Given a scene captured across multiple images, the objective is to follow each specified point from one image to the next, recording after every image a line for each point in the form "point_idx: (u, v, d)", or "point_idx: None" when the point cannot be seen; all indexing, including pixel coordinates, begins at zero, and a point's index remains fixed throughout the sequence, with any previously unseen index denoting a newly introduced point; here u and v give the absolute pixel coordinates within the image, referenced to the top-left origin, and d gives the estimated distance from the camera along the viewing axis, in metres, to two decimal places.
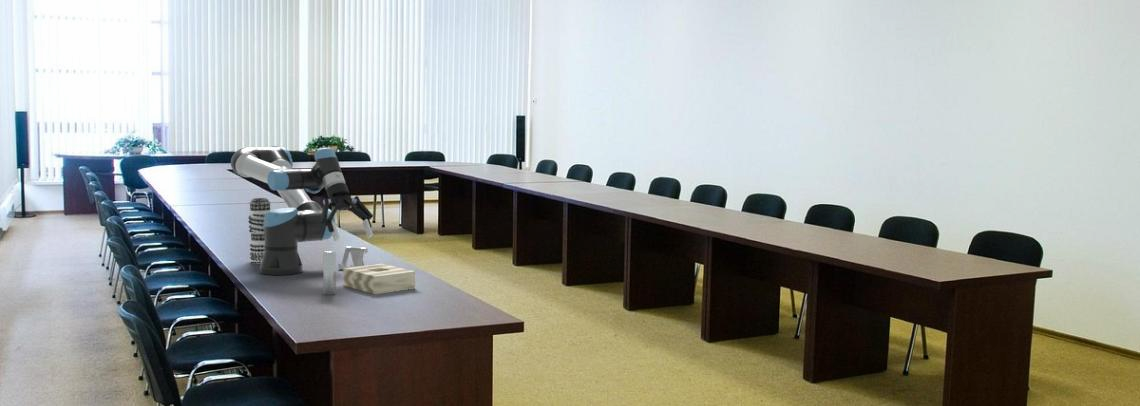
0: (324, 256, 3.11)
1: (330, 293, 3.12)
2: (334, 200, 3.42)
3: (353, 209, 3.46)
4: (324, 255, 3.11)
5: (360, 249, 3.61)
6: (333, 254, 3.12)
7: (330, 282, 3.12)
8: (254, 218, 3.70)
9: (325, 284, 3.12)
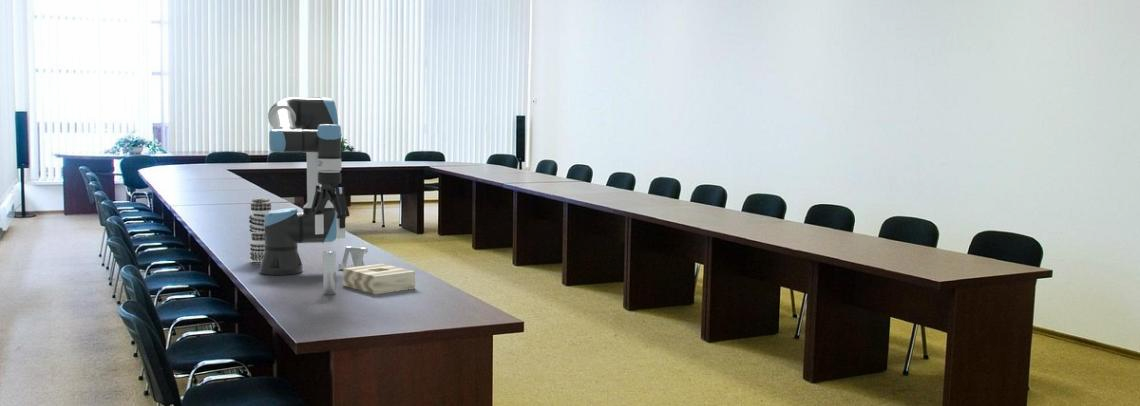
0: (324, 256, 3.11)
1: (330, 293, 3.12)
2: (321, 189, 3.13)
3: None
4: (324, 255, 3.11)
5: (360, 249, 3.61)
6: (333, 254, 3.12)
7: (330, 282, 3.12)
8: (255, 218, 3.70)
9: (325, 284, 3.12)
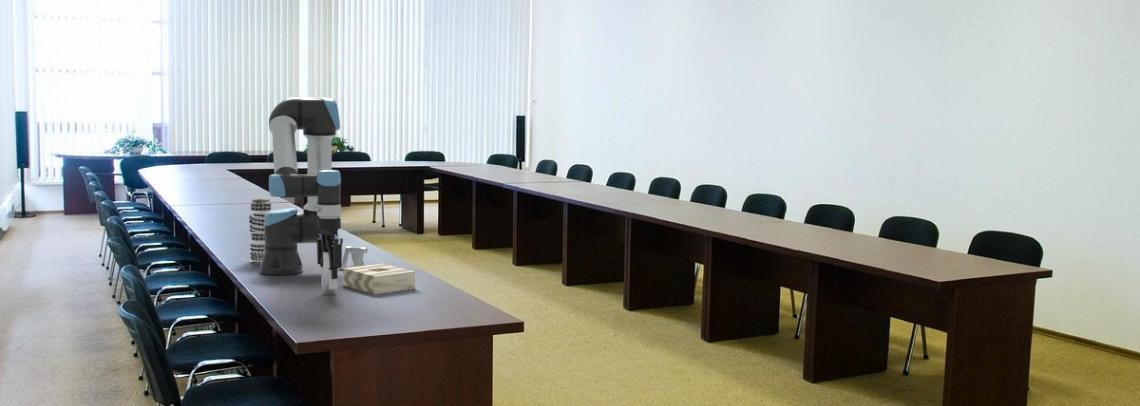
0: (324, 256, 3.11)
1: (330, 293, 3.12)
2: (321, 235, 3.14)
3: None
4: (324, 255, 3.11)
5: (360, 249, 3.61)
6: None
7: None
8: (255, 218, 3.70)
9: (325, 284, 3.12)
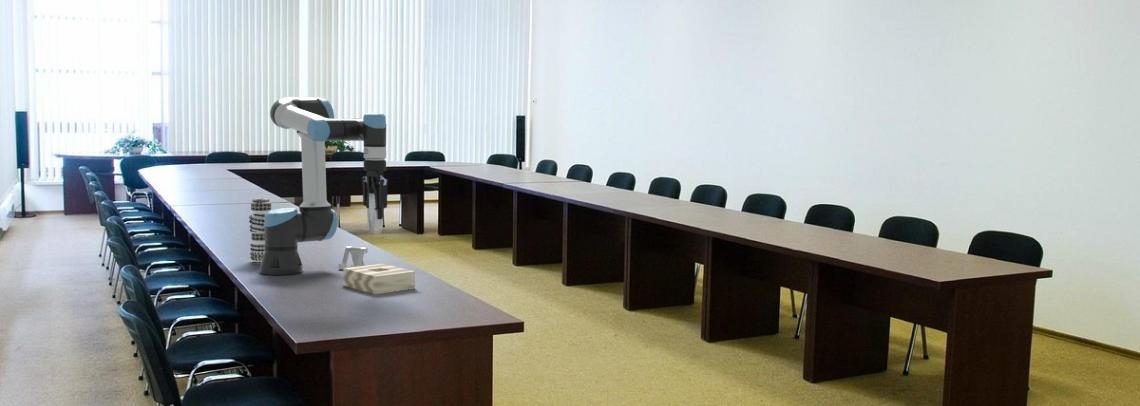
0: (370, 197, 3.22)
1: (376, 233, 3.22)
2: (367, 176, 3.24)
3: None
4: (370, 196, 3.22)
5: (360, 249, 3.61)
6: None
7: None
8: (255, 218, 3.70)
9: (371, 224, 3.22)
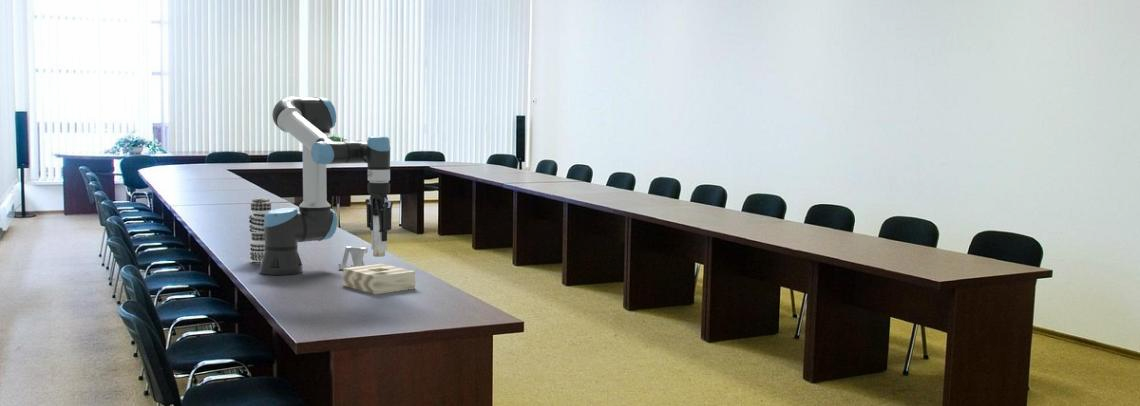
0: (374, 219, 3.23)
1: (380, 255, 3.24)
2: (371, 199, 3.26)
3: None
4: (374, 218, 3.23)
5: (360, 249, 3.61)
6: None
7: None
8: (255, 218, 3.70)
9: (375, 246, 3.24)
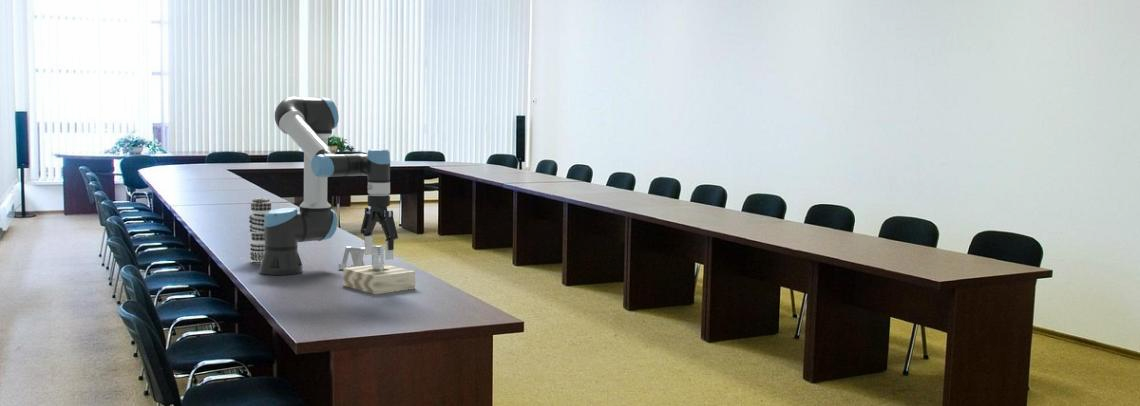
0: (373, 250, 3.25)
1: None
2: (370, 211, 3.26)
3: None
4: (373, 249, 3.25)
5: (360, 249, 3.61)
6: (381, 248, 3.26)
7: None
8: (255, 218, 3.70)
9: None
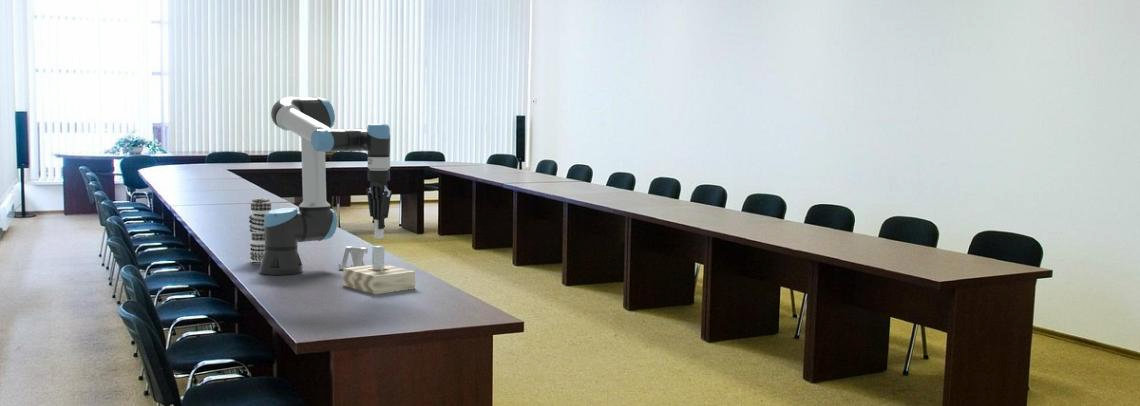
0: (374, 251, 3.25)
1: None
2: (371, 187, 3.25)
3: None
4: (374, 250, 3.25)
5: (360, 249, 3.61)
6: (382, 249, 3.25)
7: None
8: (255, 218, 3.70)
9: None
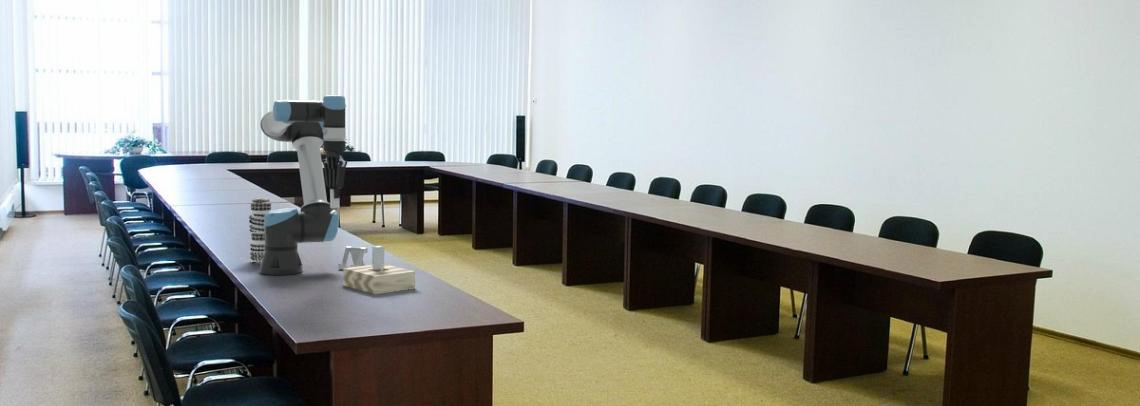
0: (374, 251, 3.25)
1: None
2: (327, 157, 3.32)
3: None
4: (374, 250, 3.25)
5: (360, 249, 3.61)
6: (382, 249, 3.25)
7: None
8: (255, 218, 3.70)
9: None
